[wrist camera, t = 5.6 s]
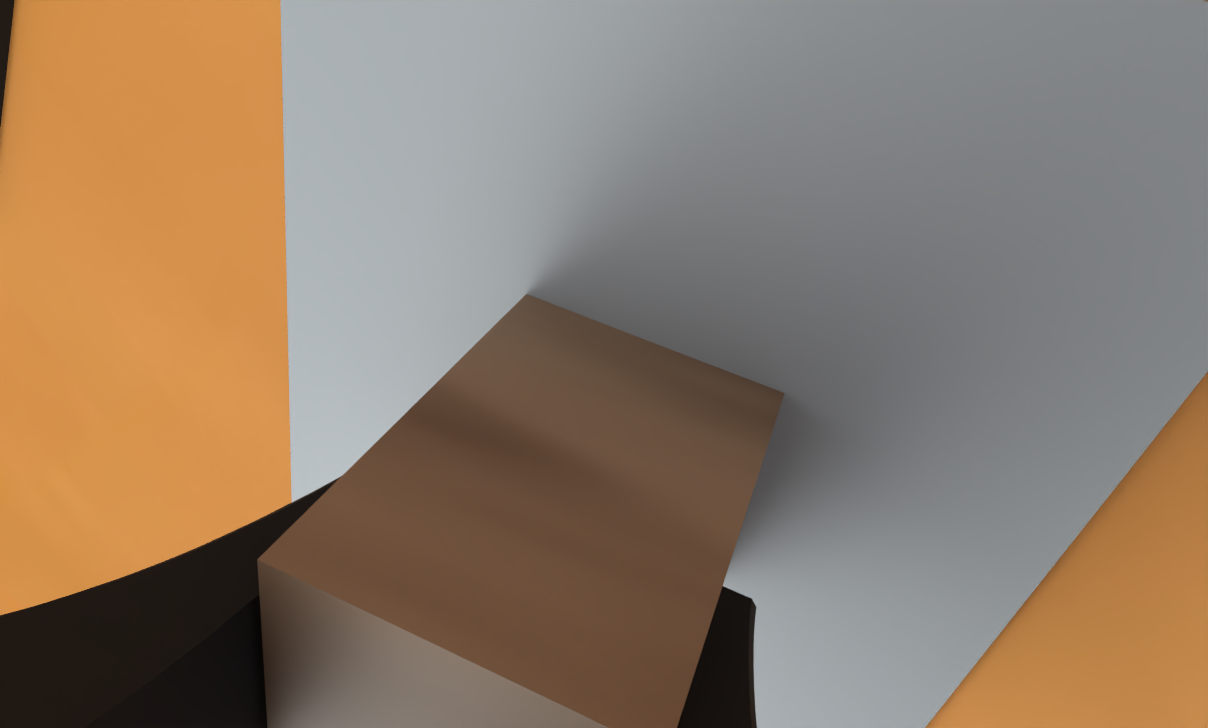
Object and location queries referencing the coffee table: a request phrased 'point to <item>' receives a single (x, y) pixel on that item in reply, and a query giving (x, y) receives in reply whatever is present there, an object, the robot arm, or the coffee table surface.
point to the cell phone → (4, 43)
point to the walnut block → (521, 541)
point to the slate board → (782, 270)
